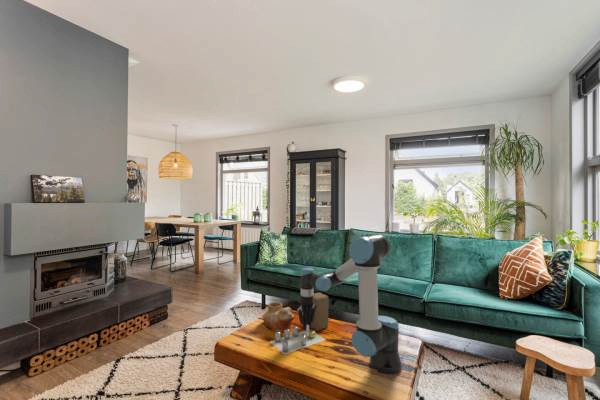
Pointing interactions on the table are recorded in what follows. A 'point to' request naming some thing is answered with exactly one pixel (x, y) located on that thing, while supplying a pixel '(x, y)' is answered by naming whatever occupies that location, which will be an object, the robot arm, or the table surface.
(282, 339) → the board
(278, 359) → the table surface
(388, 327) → the robot arm
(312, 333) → the brass round knob
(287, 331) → the spacers
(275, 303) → the ceramic vessel
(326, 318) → the wooden block
